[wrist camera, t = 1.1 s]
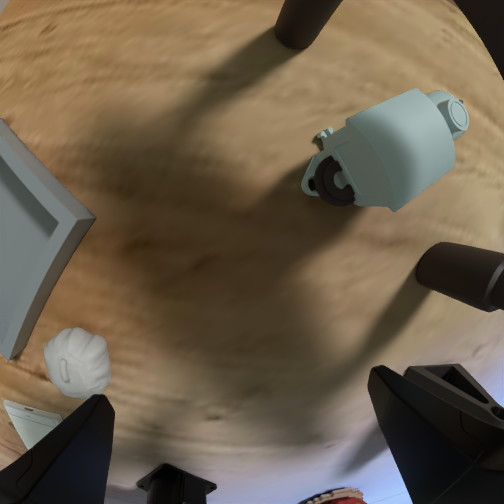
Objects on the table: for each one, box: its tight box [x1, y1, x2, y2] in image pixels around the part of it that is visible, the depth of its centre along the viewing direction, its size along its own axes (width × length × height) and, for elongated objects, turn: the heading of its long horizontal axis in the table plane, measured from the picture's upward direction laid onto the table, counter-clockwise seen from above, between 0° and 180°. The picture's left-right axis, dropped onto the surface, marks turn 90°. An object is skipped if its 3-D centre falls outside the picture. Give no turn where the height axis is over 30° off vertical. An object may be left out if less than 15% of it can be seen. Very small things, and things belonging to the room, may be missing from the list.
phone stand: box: [405, 364, 504, 429], centre depth 18 cm, size 9×6×12 cm, turn 77°
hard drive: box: [3, 400, 63, 450], centre depth 19 cm, size 2×8×12 cm
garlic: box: [44, 327, 111, 400], centre depth 16 cm, size 6×5×5 cm
